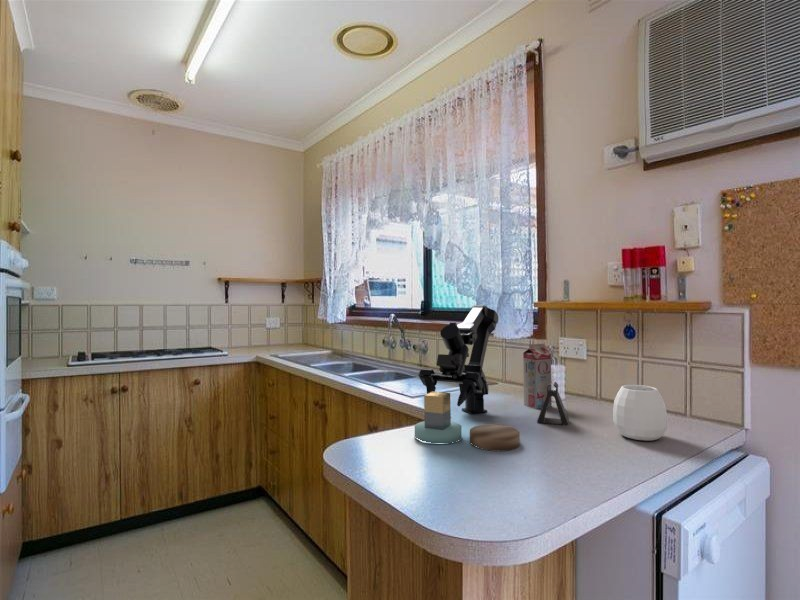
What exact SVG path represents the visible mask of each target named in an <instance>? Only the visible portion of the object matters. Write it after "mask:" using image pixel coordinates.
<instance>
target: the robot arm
mask: <svg viewBox="0 0 800 600" xmlns="http://www.w3.org/2000/svg"><path fill="white" fill-rule="evenodd" d="M498 323H499V314H498V313H497V311H496V310H495V309H493V308H490V307H488V306H487V305H484V304H474V305H472V306H471V309H470V311H469V313H468V314H467V316H466V317H465V319H464V320H463V321H462V322H461V323H458V324H457V322H456V321H455V322H454V321H453V322H451V321H450V322H449V324H448V325H445V326H444V327H443V328H442V329H441V330H440V332H439V334H440V337H441V339H442V341H443V344H444V346H445V348H446V350H449V351H448V354H443V353H442V354H441V353H440V354H437V358H436V366H437V367H439V372H440V374H439V373H435V371H434V369H431V368H422V369H420V370H419V372H418V375H417V376H418V377H419V380H420V381H421V383H422V385H423V386H425V389H426V394H428V393H430V392H432V391H433V392H436V390H437V387H436V386H437V383H438V382H446V383H452V384H453V383H454V384H458V388H459V396H458V399H457V403H456V405H457V407H461V405H462V404H463V403H465V407H463V408H461V411H464V412H465V413H468V414H470V415H475V414H483V413H487V412H488V409H485V405H484V404H485V401H484V396H487V395H489V384H488V382H487V379H486V375H485V373H484V371H483V366H484V361H485V357H486V351H487V348H488V342H489V337H490V334H492V332H494V331H496V328H497V324H498ZM468 346H472V348H471V352H470V353H471V354H470V353H469V347H468ZM469 357H470V358H469ZM467 358H469V362H468V363H467V364H466V361H467Z"/></svg>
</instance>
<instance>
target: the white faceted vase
mask: <svg viewBox="0 0 800 600" xmlns="http://www.w3.org/2000/svg"><path fill="white" fill-rule="evenodd" d="M612 420H613V424H614V427H615V429H616V430H617V432H619V433H620V434H621V435H622V436H624V437H625V438H628V439H631V440H636V441H637V440H638V441H657V440H658V439H660V438H661V437H663V436H664V435H665V433H666V430H667V428H668V413H667V407H666V403H665V401H664V398H663V396H662V394H660V391H659V390H658V388H656V387H653V386H650V385H643V384H624V385H621V387H620V389H619V390H618V392H617V394H616V395H615V398H614V401H613V409H612Z"/></svg>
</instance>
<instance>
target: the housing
mask: <svg viewBox="0 0 800 600" xmlns="http://www.w3.org/2000/svg"><path fill="white" fill-rule="evenodd" d="M423 403H424V404H423V406H424V409H423V411H424V414H423V415H424V420H423V421H425V428H430V429H437V430H444V429H446V428H447V427H449V426H450V425H451V421H452V420H451V416H452V414H451V411H452V410H451V407H452V406H451V392H441V391H435V392H433V391H432V392H430V393H428V394H427V393H426V394H424V395H423Z"/></svg>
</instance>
